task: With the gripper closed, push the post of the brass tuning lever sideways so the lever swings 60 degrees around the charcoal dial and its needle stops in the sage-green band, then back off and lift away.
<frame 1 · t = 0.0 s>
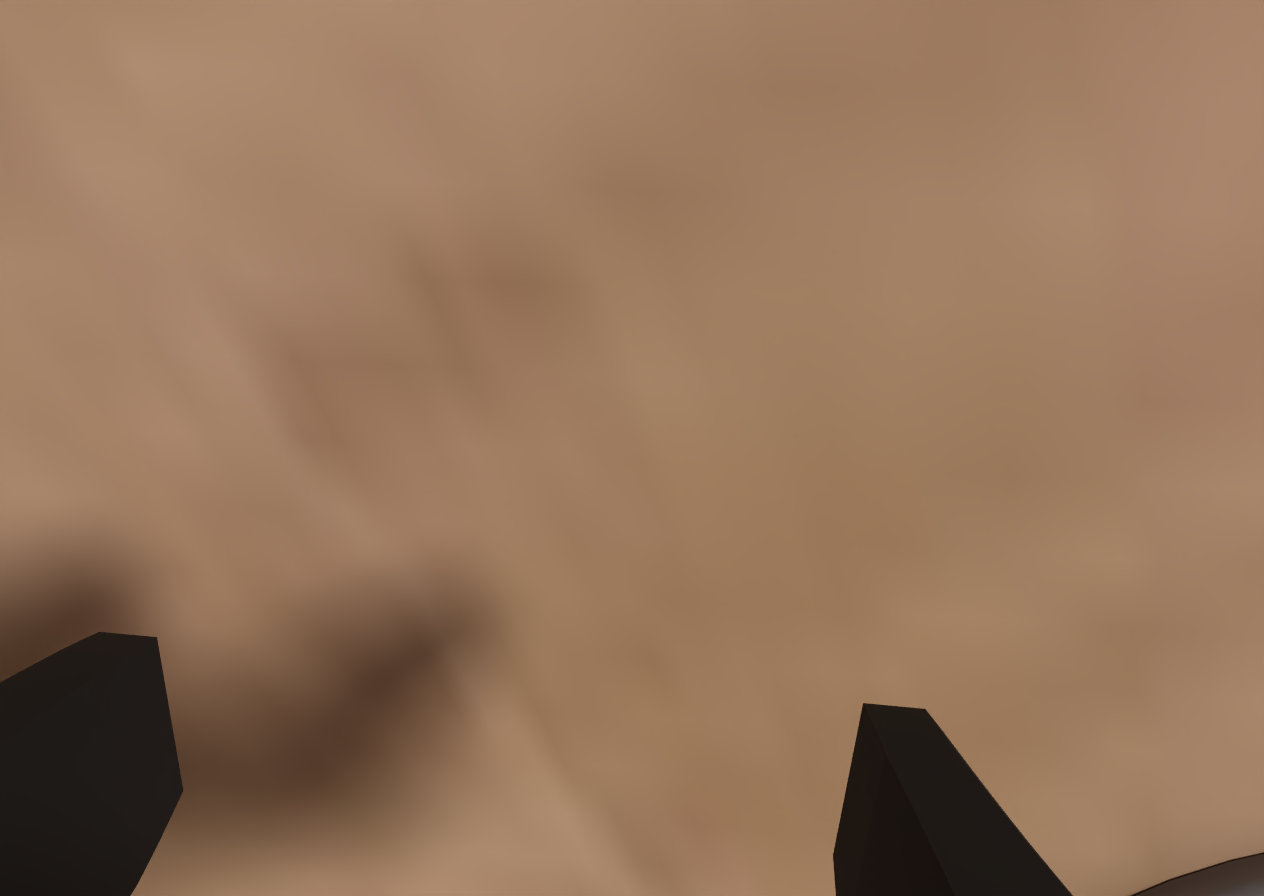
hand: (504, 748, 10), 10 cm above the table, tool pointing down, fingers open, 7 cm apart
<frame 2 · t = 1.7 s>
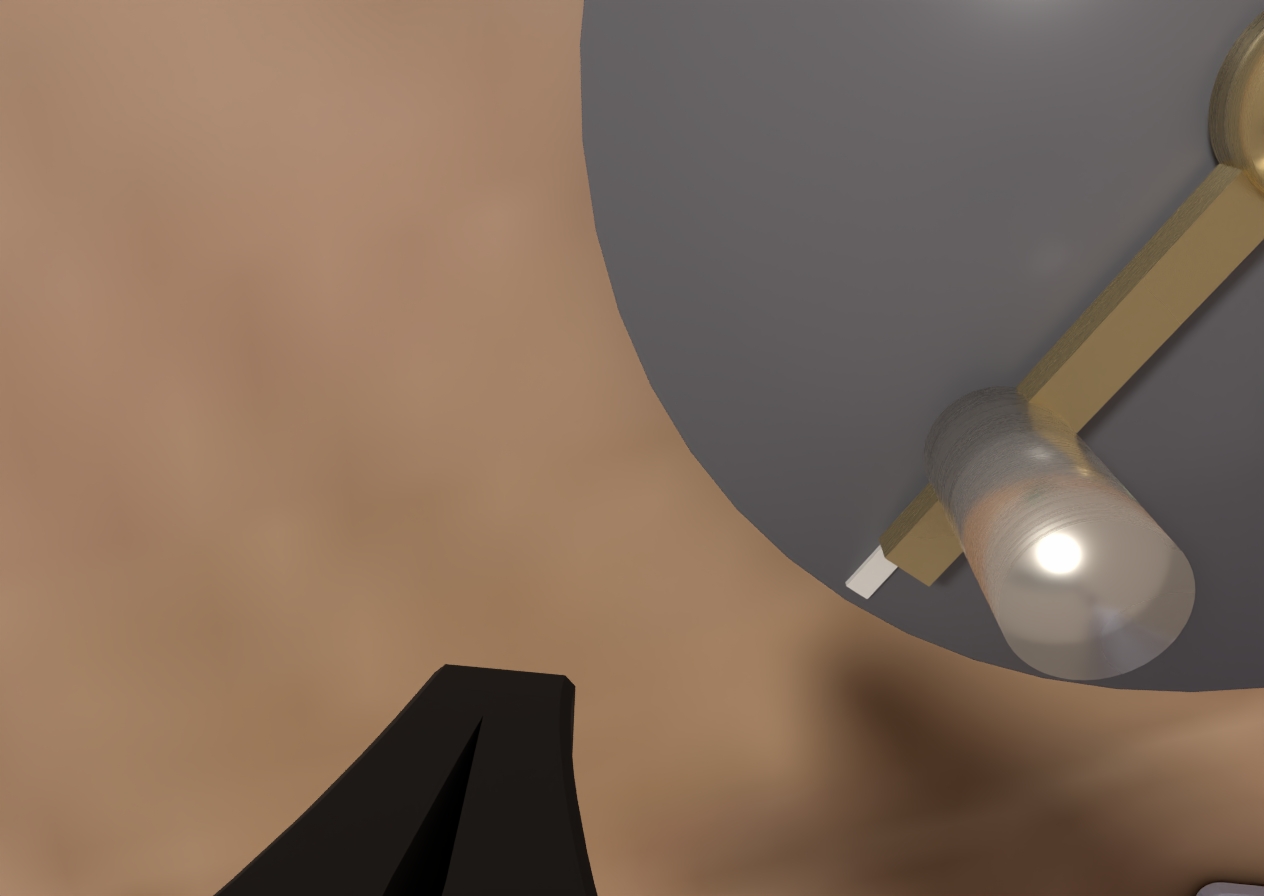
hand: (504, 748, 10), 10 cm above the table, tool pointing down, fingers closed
tuner dial: (1260, 86, 16), on the table
tuning key: (1192, 357, 13), point 4 cm above the table, hinge at 60.0°
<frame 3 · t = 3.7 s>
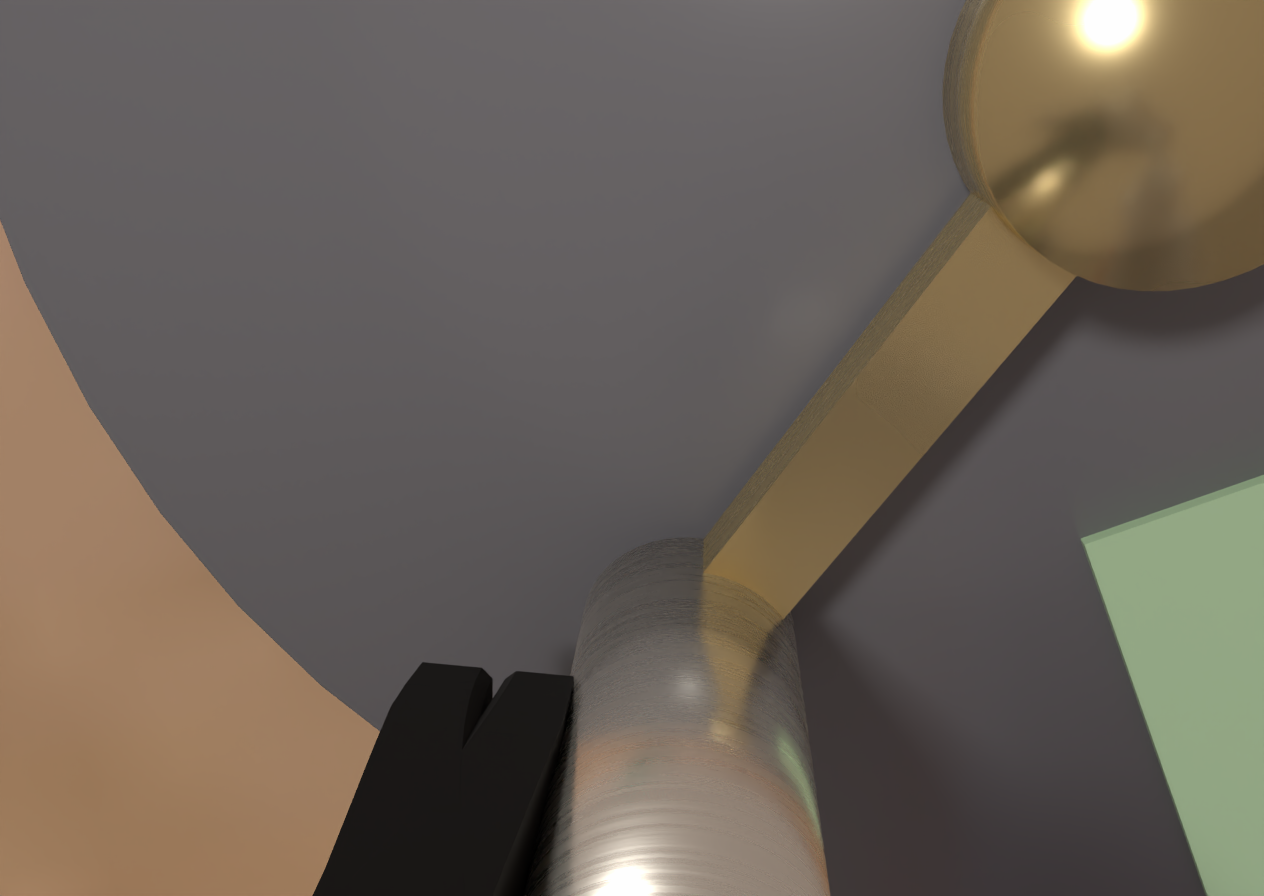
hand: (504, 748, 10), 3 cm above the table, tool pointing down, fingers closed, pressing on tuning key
tuner dial: (1063, 63, 10), on the table
tuning key: (891, 541, 8), point 4 cm above the table, hinge at 62.0°, touching gripper
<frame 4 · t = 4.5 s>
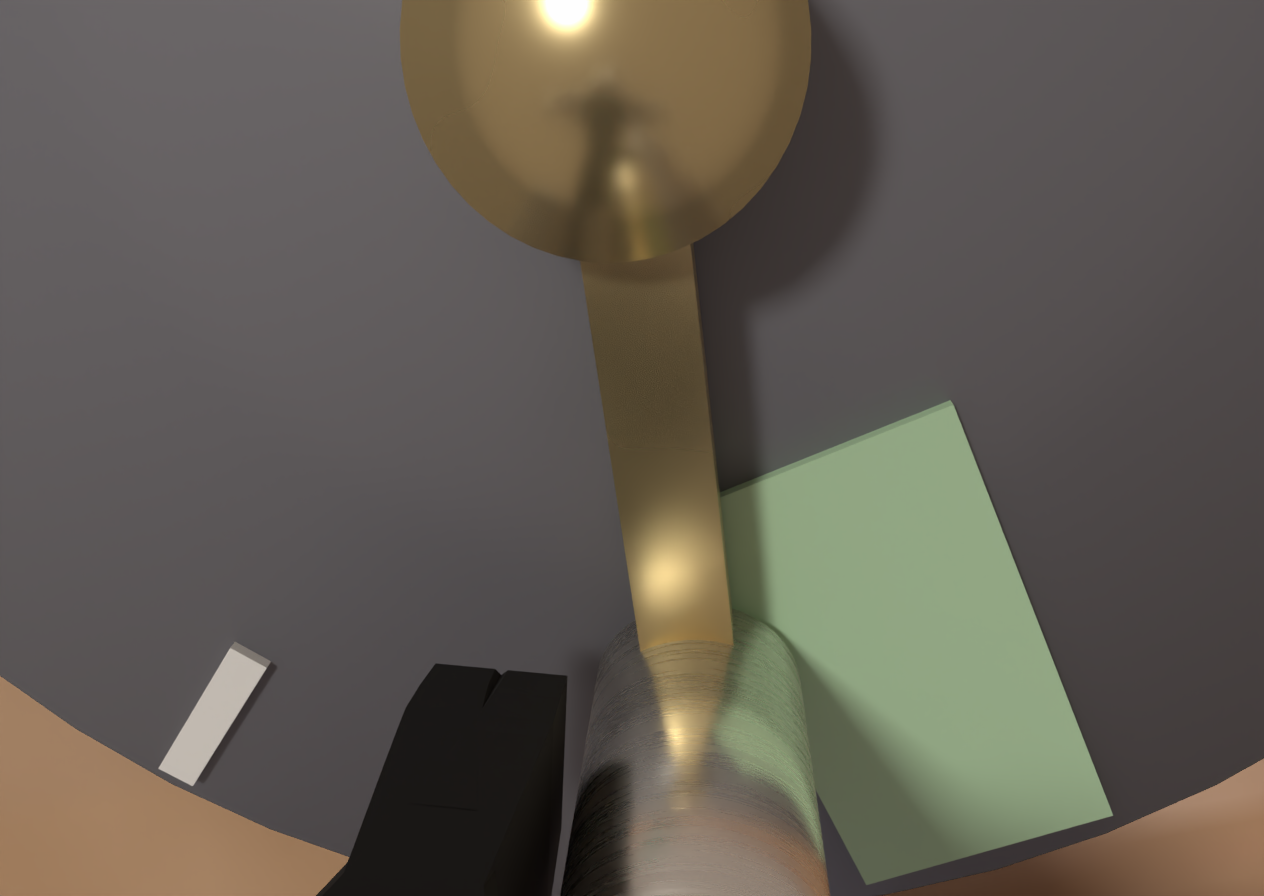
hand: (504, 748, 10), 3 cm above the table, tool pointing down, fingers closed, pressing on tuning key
tuner dial: (631, 47, 10), on the table
tuning key: (656, 575, 8), point 4 cm above the table, hinge at 101.3°, touching gripper
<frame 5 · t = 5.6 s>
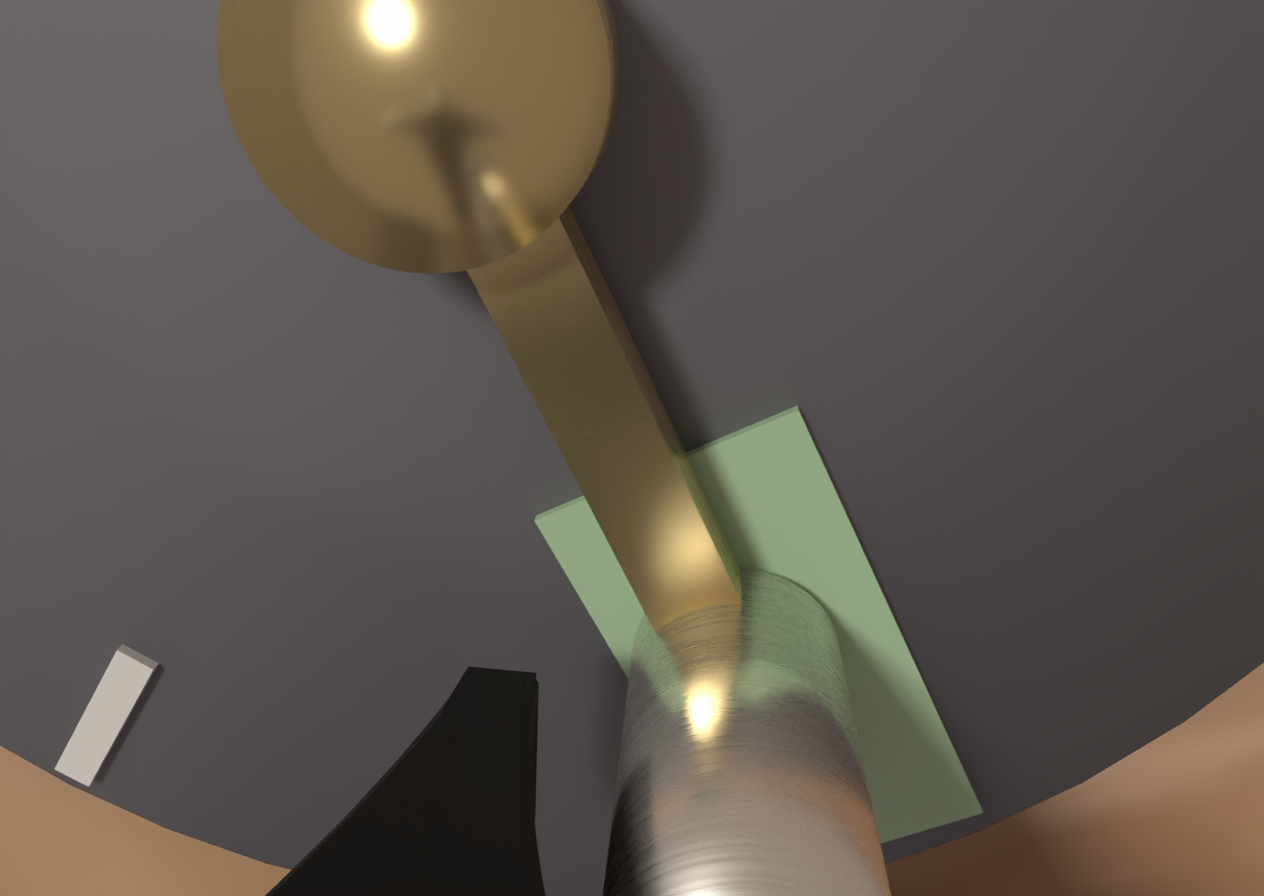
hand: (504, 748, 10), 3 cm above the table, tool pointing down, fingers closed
tuner dial: (488, 63, 11), on the table
tuning key: (604, 548, 8), point 4 cm above the table, hinge at 118.0°, touching gripper
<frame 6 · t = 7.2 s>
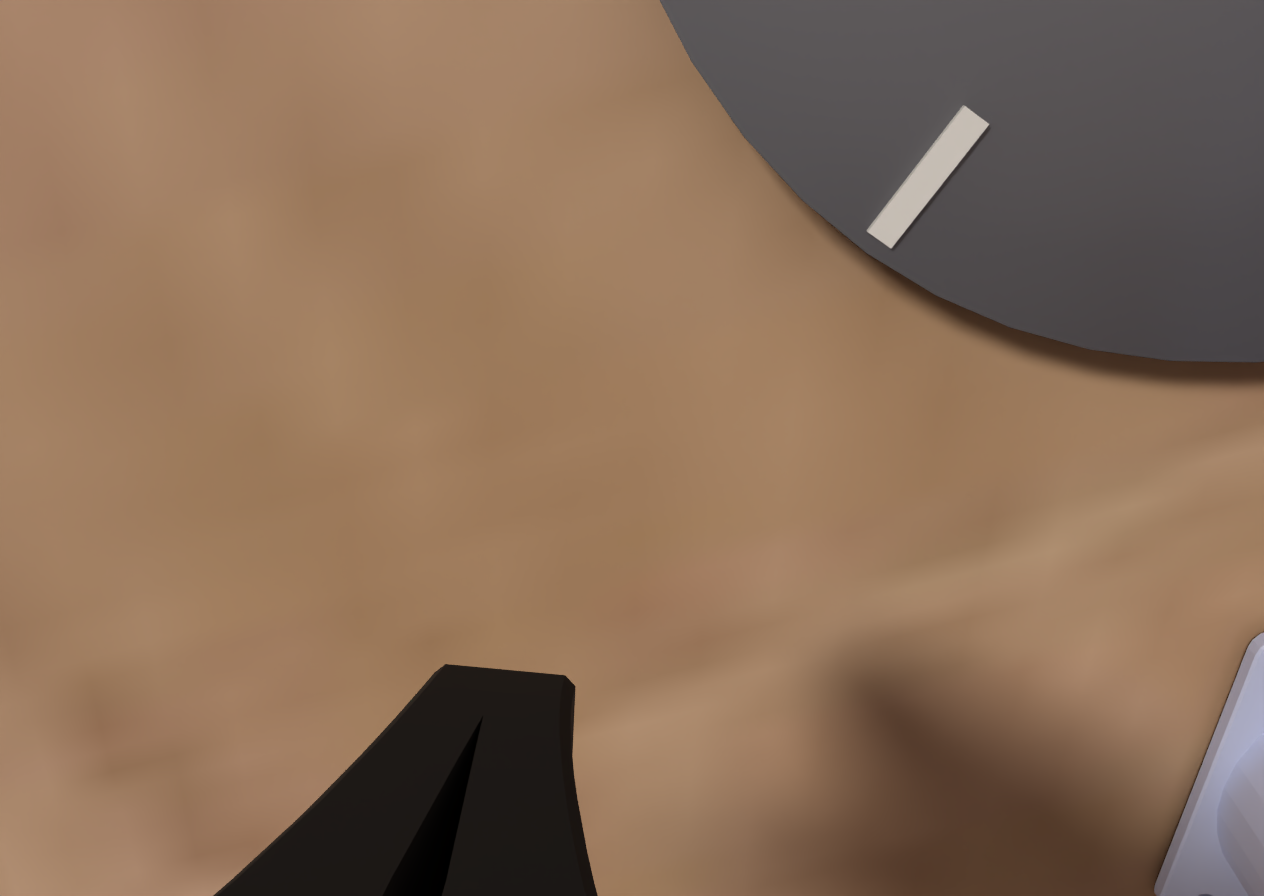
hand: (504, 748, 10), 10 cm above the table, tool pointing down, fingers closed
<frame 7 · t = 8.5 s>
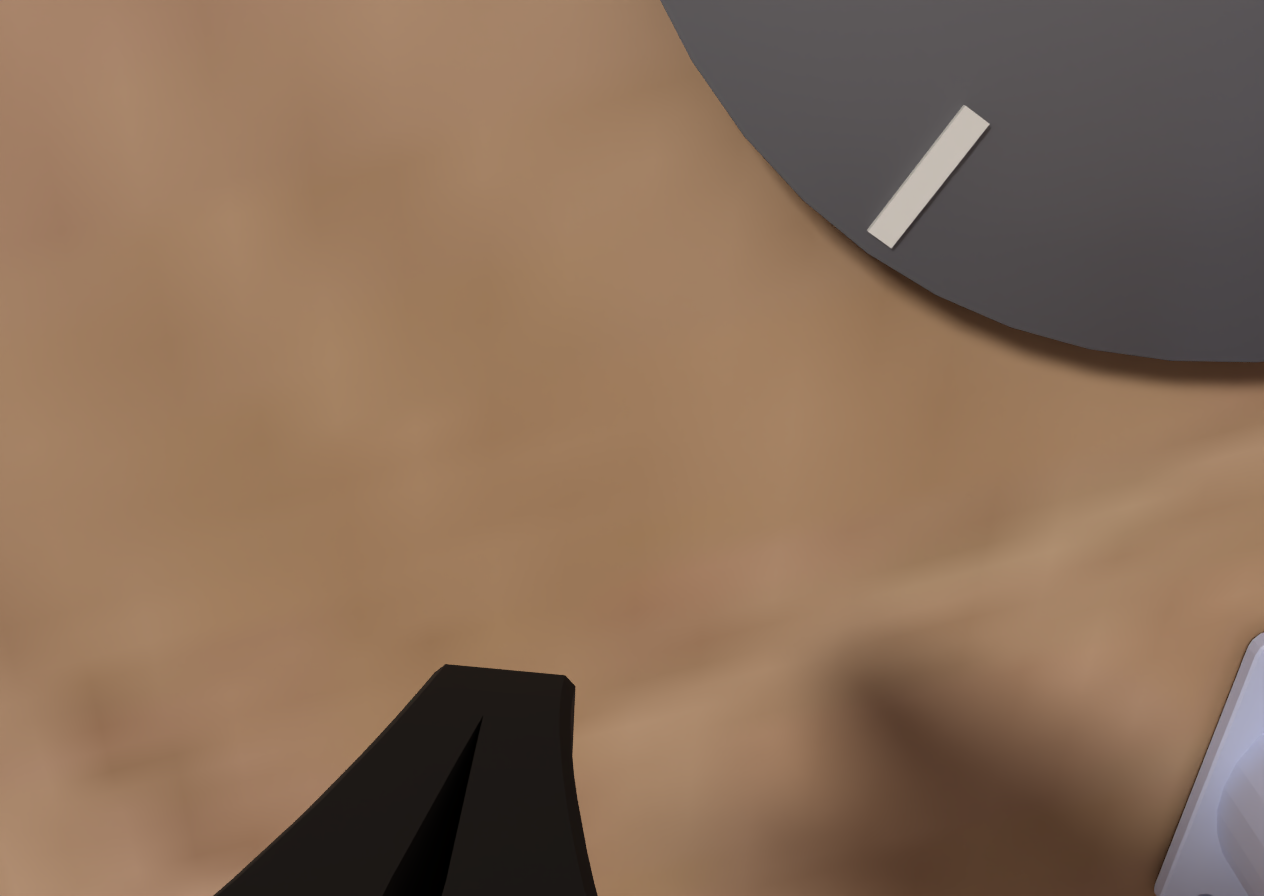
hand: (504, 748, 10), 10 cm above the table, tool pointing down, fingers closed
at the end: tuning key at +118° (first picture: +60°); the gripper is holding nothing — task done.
